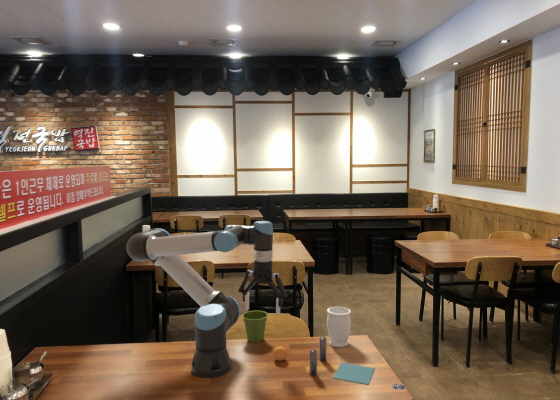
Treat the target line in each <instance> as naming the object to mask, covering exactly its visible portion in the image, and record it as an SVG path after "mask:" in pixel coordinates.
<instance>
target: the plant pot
mask: <svg viewBox="0 0 560 400" xmlns="http://www.w3.org/2000/svg"><path fill="white" fill-rule="evenodd" d="M268 316H269V313H268V312H266V311H263V310H250V311H249V310H248V311H245V312H243V313H242V314H241V317H242V319H243V323H244V327H245V331H246V338H247V340H248V342H251V343H259V342H261V341H263V340H264V338H265V332H266V324H267V320H268Z"/></svg>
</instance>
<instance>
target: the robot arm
mask: <svg viewBox="0 0 560 400" xmlns="http://www.w3.org/2000/svg"><path fill="white" fill-rule="evenodd" d="M273 228H274V227H273V223H272V222H271V221H268V220H258V221H257V220H256V221H255V222H253V225H242V224H241V225H239V224H228V225H226V226H225V227H224V230H215V231H207V232H195V233H185V234H177V235H176V234H175V235H171V233H170V232H169V231H167V230H166V229H163V228H159V227H158V228H150V229H148V230H146V231H145V230H144V231H142V232H137V233H135V234H133V235H131V236H130V238H129V239H128V240H127V243H126V247H125V248H126V253H127V254H128V256H129V257H130V259H131V260H133V261H135V262H142V263H143V262H146V261H147V262H148V261H150V262H151V263H152V264H153V265H154V266H155V267H157V266H159V267H160V268H162V269H163V270H164V271H165V272H166V273H167V274H168V275H169V276H170V277H171V278H172V279H173V280H174V282H176V283H177V285H179V286H180V287H181V288H182V289H183V290H184V292H186V293H187V295H189V296H190V297H191V299H192V300H194V301H195V303H197V304H198V305H199V306H200V307H199V308H197V310H196V311H195V314H194V330H195V331H194V336H195V350H194V355H193V356H192V357H193V358H192V360H191V363H190V364H191V366H190V368H191V372H192V374H194V375H195V376H197V377H201V378H215V377H220V376H223V375H225V374H227V373H228V372H230V370H232V360H231V357H230V354H229V351H228V348H227V333H228V331H229V330H230V329H231V328H232V327H233V326H234V325H235V324H236V323H237V322H238V320H239V319H240V317H241V306H240V304H239V302H238V301H237V299H236V298H234V297H232V296H228V295H225V294H224V293H223V292H222V291H221V290H215V289H214V288H213V287H212V286H211V285H210V284H209V283H208V282H207V281H206V280H205V279H204V278H203V277H202V276H201V275H200V274H199V273H198V272H197V271H196V270H195V269H194V268H193V267H192V266H191V265H190V264H189V263H188V262H187V261H186V259H184V258H183V257H182V256H181V255H189V254H199V253H210V252H221V253H227V252H231V251H233V250H234V249H236V248H238V247H239V246H241V245H252V246H253V270H251V269H248V270H246V271H245V276H244V278H243V280H242V282H241V284H240V286H239V288H238V293H241V294H242V302H244V311H245V312H248V311H249V310H250V293H249V291H250V290H251V289H252V288H253V286H255V284H256V283H258V284H264V285H266V284H267V286H268V287H269V288H270V289H271V290H272V292H273V293H274V295H275V296H276V300H275V303H276V304H275V306H276V307H275V315H276V316H279V315H280V314H281V307H283V303H284V302H283V301H284V299H285V298H286V297H288V293H287V291H286V288H285V286H284V284H283V282H282V280H281V274H280V272H277V273H273V261H272V260H273V241H274V240H273V239H274V229H273ZM251 276H252V277H254V278H253V279H252V281H251V282H250V283H249V284H248V282H249V280H250V278H251ZM272 278H273V279H274V280H273V279H272ZM275 283H276V284H275ZM247 284H248V285H247Z"/></svg>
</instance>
